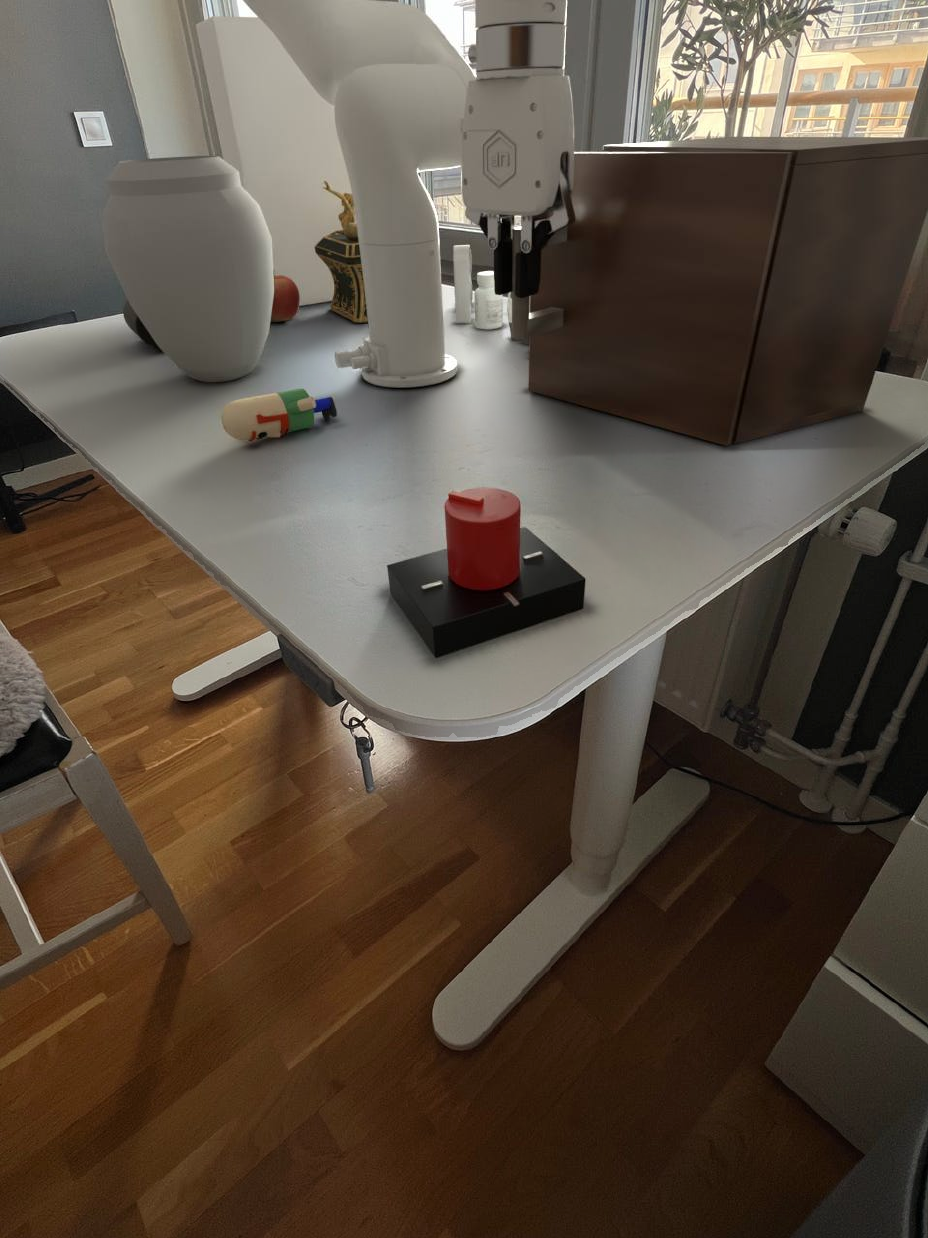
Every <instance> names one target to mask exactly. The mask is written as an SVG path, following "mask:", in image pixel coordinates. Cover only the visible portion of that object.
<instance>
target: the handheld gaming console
mask: <svg viewBox="0 0 928 1238" xmlns="http://www.w3.org/2000/svg"><path fill="white" fill-rule="evenodd" d="M452 251H453V253H452V254H453V288H454V311H455V313H454V314H455V323H456V324H471V323H472V304H473V299H474V297H473V295H474V293H473V283H472V271H473V255H472V250H471V245H470V244H458V245H457V244H456V245H453V250H452Z"/></svg>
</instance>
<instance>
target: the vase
mask: <svg viewBox="0 0 928 1238" xmlns="http://www.w3.org/2000/svg"><path fill="white" fill-rule="evenodd" d="M105 182H106V186H107V188H108V191H109V193H110V196H109V197H108V200H107V202H106V204H105V207H104V209H103V212H102V214H101V225H102V233H103V241H104V242H103V243H104V250H105V254H106V256H107V259H108V260H109V262H110V265H111V268H112V270H113V271H114V273H115V275H116V278H117V280H118V282H119V284H120V286H121V288H122V290H123V292H124V294H125V297H126V299H127V300H128V301H129V303H130V305H131V307H132V308H133V310H134V311H135V313H136V314H137V316H138V317H139V319H140V320H141V322H142V323H143V324H144V326H145V327H146V329H147V330H148V332H149V333H150V335H151V336H152V338H153V339H154V341H155V342H156V344H157V345H158V346H159V348H160V349H161V350H162V351H163V352H162V353H164V354H165V355H166V356H167V358H169V360H170V361H171V362H172V363H173V364H174V365H175V366H176V367H177V368H178V369H180V370H181V371H182V372H183V373H185V374H186V375H187V376H189V377H190V378H191V379H193V380H196V381H199V382H203V383H223V382H224V383H225V382H230V381H234V380H238V379H241V378H243V377H246V376H247V375H249V374H250V373H252V372H253V371H254V370H255V368H256V367H257V364H258V363H259V361H260V359H261V357H262V354H263V351H264V348H265V345H266V342H267V339H268V336H269V333H270V326H271V321H270V320H271V312H272V304H273V297H274V276H273V255H272V238H271V235H270V232H269V230H268V227H267V224H266V222H265V219H264V216H263V214H262V211H261V208H260V206H259V204H258V203H257V202H256V201H255V200H254V199H253V198H252V197H251V196H250V194H249V193H248V192H247V191H246V190H245V189H244V188H243V187H242V186H241V183H240V176H239V171H238V170H237V169H235V168H234V167H232V166H231V165H230V164H228V163H227V162H225V161H224V160H223V157H221V156H219V155H189V156H174V157H173V156H171V157H157V158H156V157H155V158H141V159H129V160H121V161H118V162H117V164H116V165H115V167H114V168H113V169H112V171H111V172H109V175H108V176H106V178H105Z"/></svg>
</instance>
